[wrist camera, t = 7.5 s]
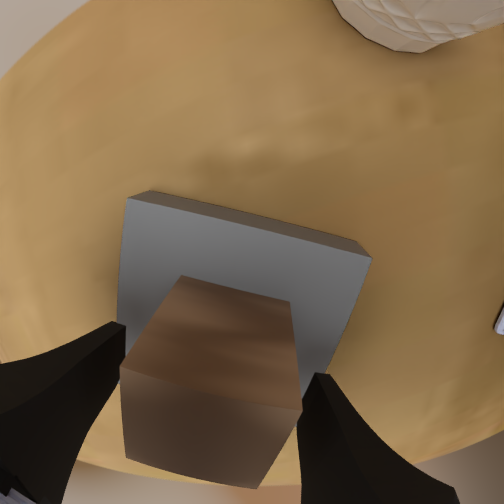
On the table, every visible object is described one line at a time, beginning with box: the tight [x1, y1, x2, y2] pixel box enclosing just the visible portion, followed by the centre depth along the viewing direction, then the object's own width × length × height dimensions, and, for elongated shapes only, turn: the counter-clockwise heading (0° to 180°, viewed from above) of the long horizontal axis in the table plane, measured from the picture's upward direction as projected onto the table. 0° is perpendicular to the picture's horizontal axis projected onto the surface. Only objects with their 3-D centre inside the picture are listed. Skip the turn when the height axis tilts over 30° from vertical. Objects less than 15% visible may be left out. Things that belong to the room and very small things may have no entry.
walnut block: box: [120, 275, 303, 489], centre depth 10 cm, size 4×4×6 cm
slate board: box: [117, 190, 372, 427], centre depth 14 cm, size 10×10×2 cm
